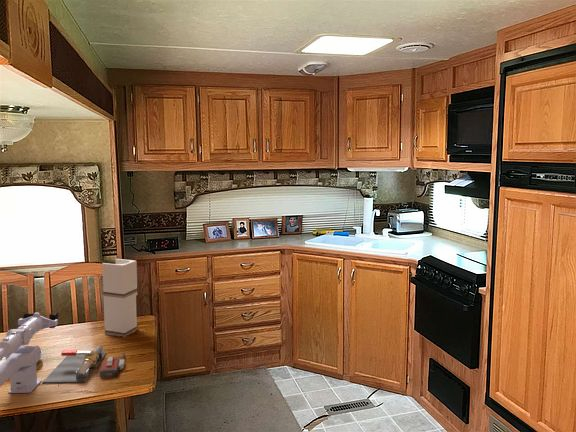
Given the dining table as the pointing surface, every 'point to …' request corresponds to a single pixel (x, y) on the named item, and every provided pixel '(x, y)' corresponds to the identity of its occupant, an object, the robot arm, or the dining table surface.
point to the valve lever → (75, 352)
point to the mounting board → (69, 370)
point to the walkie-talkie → (111, 366)
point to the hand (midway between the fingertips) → (47, 314)
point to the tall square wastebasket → (120, 297)
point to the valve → (89, 362)
